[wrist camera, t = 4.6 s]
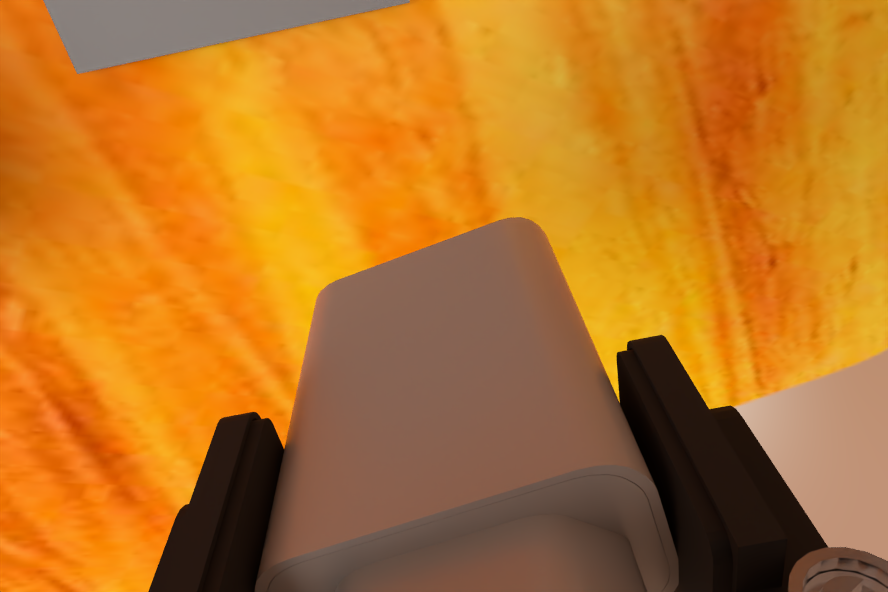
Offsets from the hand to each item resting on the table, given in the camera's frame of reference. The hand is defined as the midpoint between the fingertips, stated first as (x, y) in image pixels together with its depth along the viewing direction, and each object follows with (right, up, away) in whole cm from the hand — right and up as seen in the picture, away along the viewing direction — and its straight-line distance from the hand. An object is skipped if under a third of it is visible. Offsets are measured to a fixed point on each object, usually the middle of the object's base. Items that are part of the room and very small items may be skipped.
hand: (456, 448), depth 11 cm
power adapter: (0, +2, +4) cm, 5 cm away
